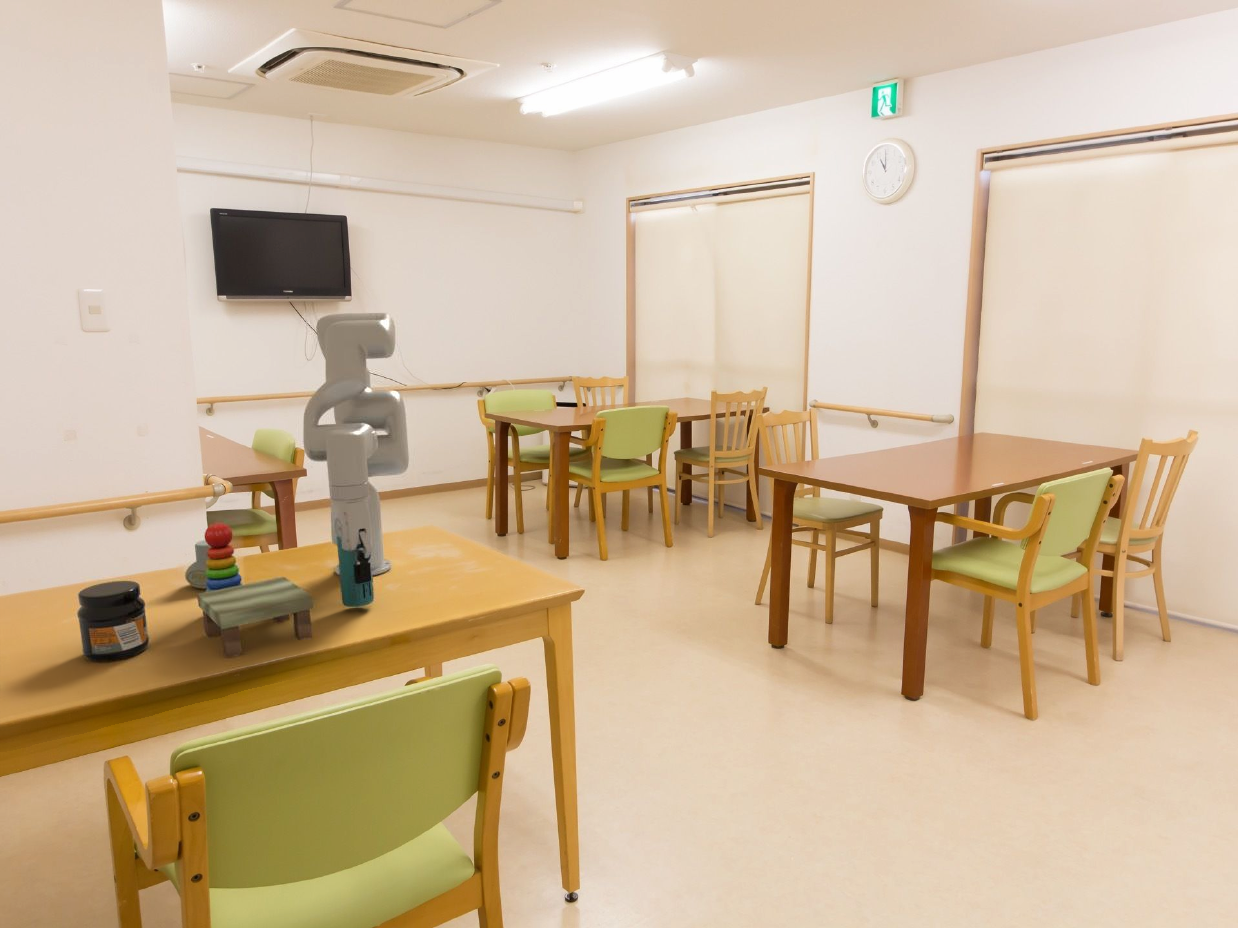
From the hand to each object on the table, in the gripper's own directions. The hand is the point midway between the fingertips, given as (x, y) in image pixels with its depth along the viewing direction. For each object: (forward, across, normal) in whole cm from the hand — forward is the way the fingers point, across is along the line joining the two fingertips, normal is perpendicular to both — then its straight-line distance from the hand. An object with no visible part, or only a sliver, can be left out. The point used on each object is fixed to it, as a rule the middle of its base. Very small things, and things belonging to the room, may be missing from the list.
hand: (356, 577), depth 176 cm
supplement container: (+7, -8, -42) cm, 43 cm away
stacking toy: (+7, -16, -21) cm, 27 cm away
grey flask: (+7, -38, -18) cm, 42 cm away
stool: (+7, +1, -20) cm, 21 cm away
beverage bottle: (+7, 0, 0) cm, 7 cm away
